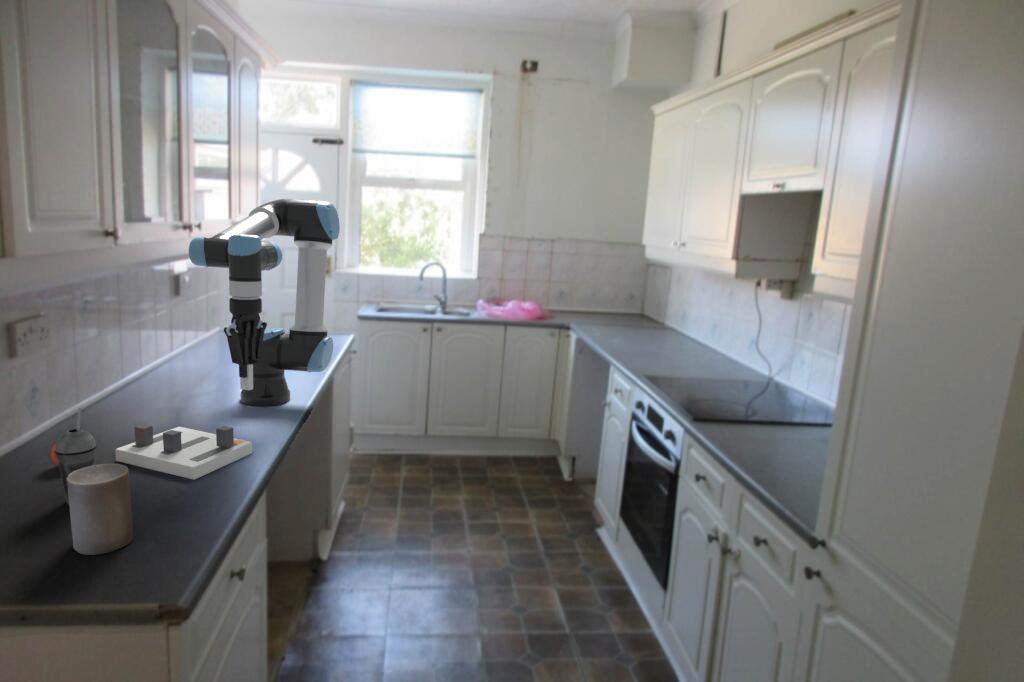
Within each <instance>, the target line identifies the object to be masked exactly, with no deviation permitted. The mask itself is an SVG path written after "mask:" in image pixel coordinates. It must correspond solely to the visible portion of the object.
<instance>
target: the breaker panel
mask: <svg viewBox="0 0 1024 682" xmlns="http://www.w3.org/2000/svg"><path fill="white" fill-rule="evenodd" d="M153 430H154V428H153V425H150V424H146V423H142V424H138V425H136V426H134V439H135V440H134V442H131V443H128V444H125V445H123V446H120V447H117V448H115V461H116V462H119V463H124V464H128V465H133V466H136V467H141V468H145V469H148V470H152V471H155V472H156V471H157V472H160V473H164V474H168V475H169V474H170V475H172V476H173V475H174V476H177V477H182V478H185V479H190V480H194V481H195V480H196V479H199V478H200V477H201V478H202V477H203V476H206V475H207V474H210V473H211V472H214V471H216V470H219V469H221V468H223V467H224V466H227V465H229V464H232V463H235V462H236V461H238V460H240V459H242V458H244V457H247V456H249V455H252V454H253V442H252V441H250V440H244V439H240V438H236V437H234V445H232V446H230V447H228V448H224V447H219V446H217V442H216V434H215V433H212V432H207V431H202V430H196V429H192V428H188V427H183V426H177V427H174V428H171V429H168V430H165V431H162V432H160V433H157V434H154V431H153Z"/></svg>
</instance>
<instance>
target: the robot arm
mask: <svg viewBox="0 0 1024 682" xmlns="http://www.w3.org/2000/svg"><path fill="white" fill-rule="evenodd" d="M340 231H341V230H340V220H339V214H338V211H337V207H336V206H335V205H334V204H333V203H331V202H328V201H324V200H323V201H322V200H317V199H316V200H314V199H311V200H310V199H293V198H281V199H275V200H271V201H269V202H266V203H263V204H261V205H259V206H257V207H255V208H253V209H252V210H251V211H250V212H249V214H248V216H246V217H245V218H243V219H241V220H240V221H238V222H236V223H234V224H232V225H231V226H230V227H227V228H225V229H224V230H222V231H221V232H218V233H217V234H215V235H213V236H211V237H205V236H202V237H194V238H193V239H191V241H190V242H189V246H188V256H189V260H190V261H191V263H192V264H193V265H195V266H198V267H204V268H219V269H220V268H221V269H228V284H229V287H228V290H229V294H228V295H229V296H230V298H229V300H228V301H229V304H228V305H229V309H228V310H229V313H231V314H232V317H231V321H230V325H229V326H228V327H227V326H225V327H224V328H223V333H224V334H225V336H226V339H227V344H228V349H229V354H230V358H231V362H232V364H236V365H238V376H239V379H240V382H239V383H240V389H241V392H240V394H239V395H240V402H241V403H243V404H244V405H249V406H256V407H258V406H259V407H268V406H269V407H270V406H276V405H277V406H278V405H280V404H285V403H286V402H288V401H290V400H291V391H290V389H289V386H288V382H287V379H286V377H285V376H286V375H285V371H294V372H295V371H296V372H308V373H321V372H324V371H325V370H326V369H327V368H328V366H329V365H330V362H331V360H332V356H333V352H334V340H333V338H332V337H331V336H330V335H328V329H327V328H326V327H325V326H324V313H325V292H326V291H325V289H326V275H327V273H326V272H327V256H328V255H327V252H328V250H329V249H330V248H332V246H333V241H334V240H337V239H338V238H339V236H340V235H339V234H340ZM274 236H281V237H282V236H283V237H293V243H294V244H295V245H296V246H297V247H298V254H297V255H298V257H297V274H296V275H297V277H296V298H295V314H294V324H293V325H292V326H291V327H289V332H288V333H285V332H286V331H285V328H283V327H267V326H268V324H267V322H266V321H262V320H261V317H260V314H261V313H262V311H263V306H262V305H263V300H262V298H261V297H262V296H263V289H262V288H263V286H262V285H263V284H262V272H263V271H270V270H273V269H276V268H277V267H278V266H279V265H280V264H281V263H282V261H283V252H282V249H281V248H280V246H279V245H278V244H277V243H275V242H274V241H269V240H263V239H270V238H272V237H274Z"/></svg>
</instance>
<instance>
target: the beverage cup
mask: <svg viewBox="0 0 1024 682" xmlns="http://www.w3.org/2000/svg"><path fill="white" fill-rule="evenodd" d="M81 414H82V408H81V407H78V408H77V419H76V428H72V429H69V430H66V431H65V432H63V433H62V434H61V435H60V436H59V437H58V439H57V440H56V442H55V444H56V446H55V451H54V452H55V453H56V457H57V460H58V462H59V465H58V466H59V472H60V477H61V483H62V487H63V492H64V497H65V500H66V504H67V505H68V506H69V496H68V485H67V479H66V478H67V477H68V475H69V474H70V473H72V472H73V471H75V470H79V469H81V468H84V467H88V466H93V465H95V457H96V452H97V447H98V446H97V444H96V440H95V438H94V436H93V435H92V434H91V433H90V432H89V431H87V430H85V429H82V428H81V417H82V415H81Z"/></svg>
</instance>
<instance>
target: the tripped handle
mask: <svg viewBox="0 0 1024 682" xmlns="http://www.w3.org/2000/svg"><path fill="white" fill-rule="evenodd" d="M215 429H216V430H215V431H216V432H215V433H216V442H217V446H219V447H224V448H228V447H230V446H232V445H234V438H235V437H234V427H231V426H226V425H221V426H219V427H217V428H215Z"/></svg>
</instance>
